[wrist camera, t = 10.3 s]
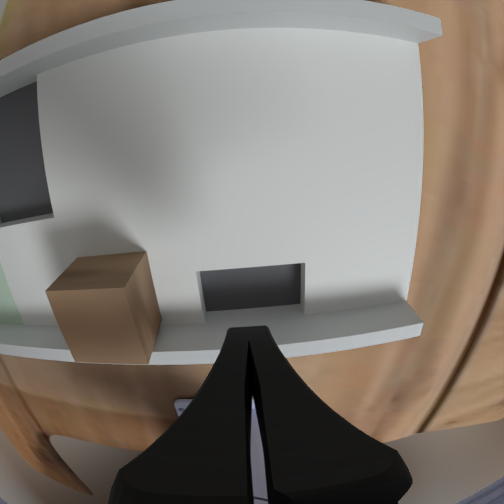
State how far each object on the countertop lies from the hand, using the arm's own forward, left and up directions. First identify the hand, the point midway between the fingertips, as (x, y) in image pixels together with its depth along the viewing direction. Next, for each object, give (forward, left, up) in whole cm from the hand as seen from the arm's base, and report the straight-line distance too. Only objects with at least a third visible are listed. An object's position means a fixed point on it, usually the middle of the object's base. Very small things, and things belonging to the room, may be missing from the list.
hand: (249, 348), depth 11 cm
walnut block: (-1, +7, -7) cm, 10 cm away
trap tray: (+4, +6, -8) cm, 11 cm away
